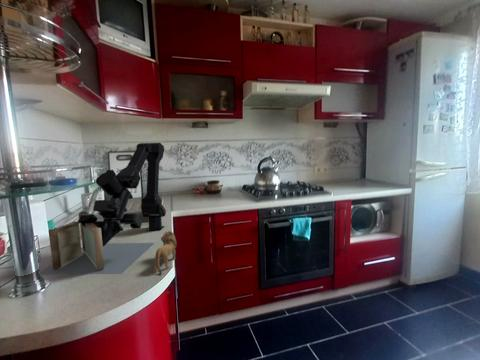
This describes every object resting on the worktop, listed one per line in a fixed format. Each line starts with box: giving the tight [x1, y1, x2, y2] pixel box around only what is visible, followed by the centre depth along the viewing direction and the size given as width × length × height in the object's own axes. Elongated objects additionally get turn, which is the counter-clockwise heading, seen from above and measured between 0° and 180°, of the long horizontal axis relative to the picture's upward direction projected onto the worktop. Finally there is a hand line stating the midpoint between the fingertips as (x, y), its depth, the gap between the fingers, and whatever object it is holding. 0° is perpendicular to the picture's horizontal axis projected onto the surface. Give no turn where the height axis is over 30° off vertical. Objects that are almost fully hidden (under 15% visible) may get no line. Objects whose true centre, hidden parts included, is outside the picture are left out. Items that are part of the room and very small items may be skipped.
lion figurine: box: [153, 230, 177, 276], centre depth 75 cm, size 15×5×9 cm, turn 6°
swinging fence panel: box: [83, 223, 105, 270], centre depth 79 cm, size 2×20×12 cm, turn 42°
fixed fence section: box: [48, 210, 89, 270], centre depth 81 cm, size 16×3×14 cm, turn 177°
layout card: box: [39, 242, 155, 275], centre depth 83 cm, size 24×26×1 cm
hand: (101, 245), depth 75 cm, fingers closed
